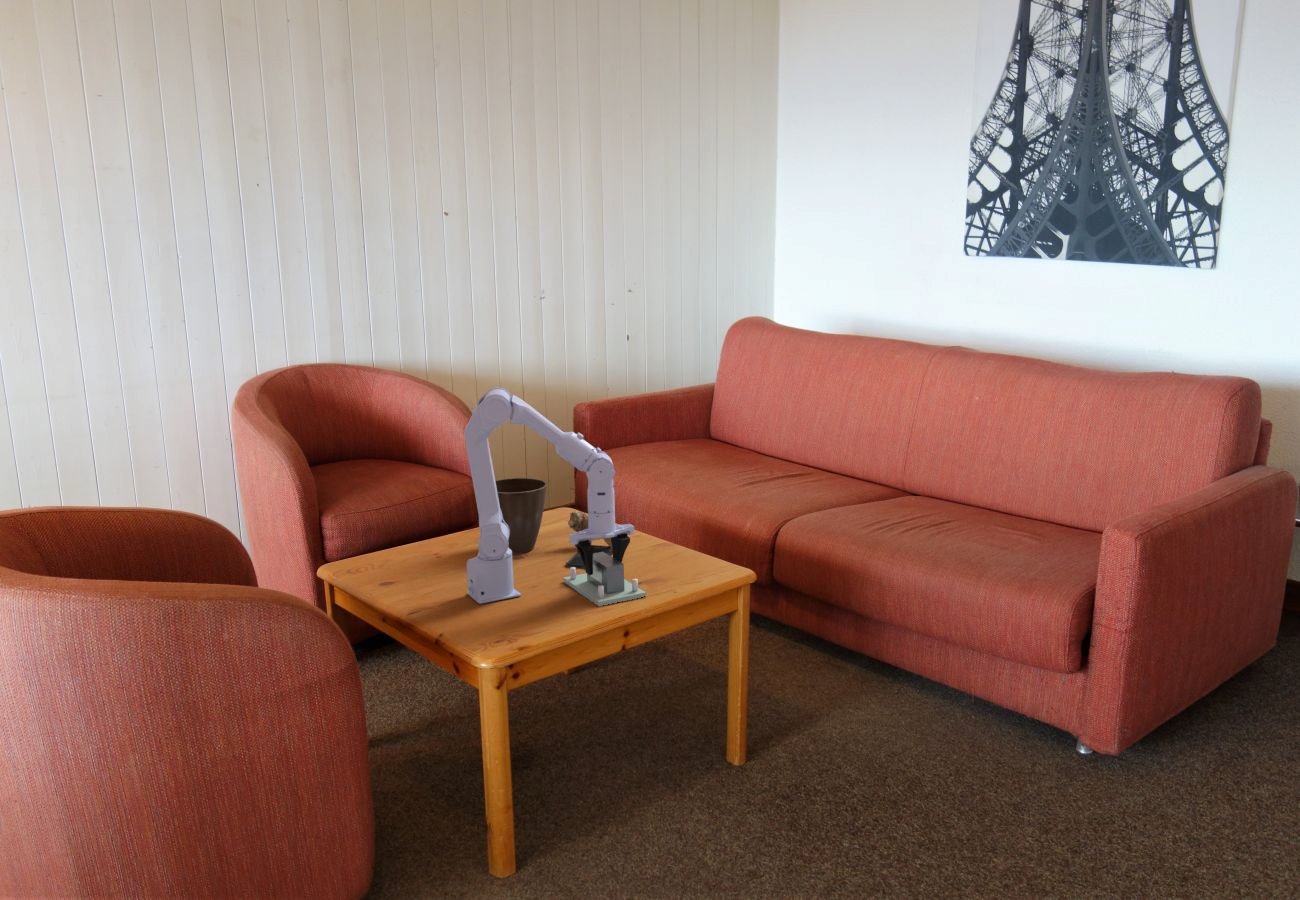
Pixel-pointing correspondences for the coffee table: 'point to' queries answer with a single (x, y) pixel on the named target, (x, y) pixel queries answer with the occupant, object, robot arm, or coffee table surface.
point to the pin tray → (602, 589)
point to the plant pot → (522, 510)
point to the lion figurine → (582, 524)
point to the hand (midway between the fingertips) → (603, 571)
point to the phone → (577, 559)
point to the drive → (607, 573)
